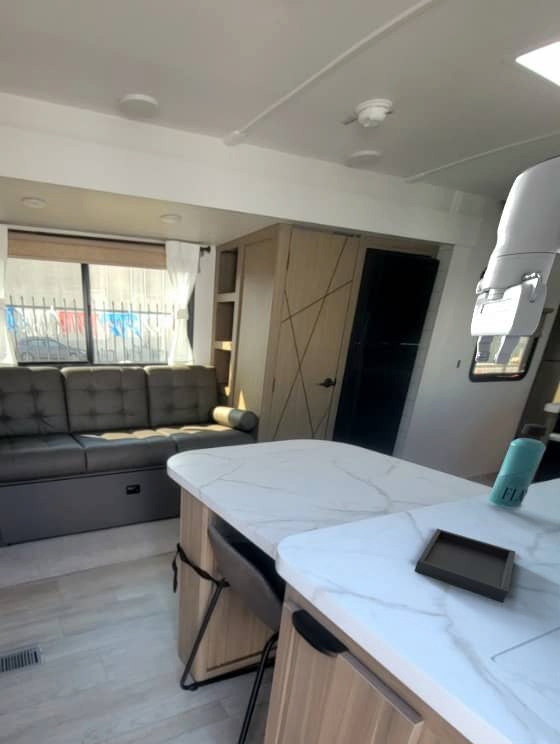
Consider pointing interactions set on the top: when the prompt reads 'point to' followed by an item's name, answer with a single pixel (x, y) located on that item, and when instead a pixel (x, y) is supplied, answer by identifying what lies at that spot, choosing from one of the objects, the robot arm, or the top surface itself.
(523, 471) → the beverage bottle
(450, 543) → the tray
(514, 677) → the top surface
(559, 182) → the robot arm
